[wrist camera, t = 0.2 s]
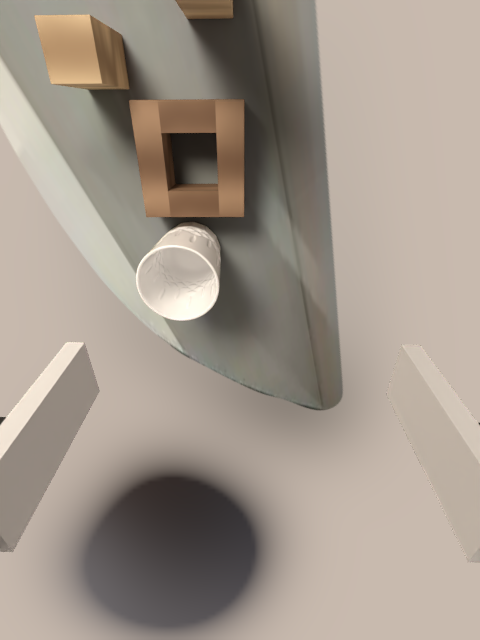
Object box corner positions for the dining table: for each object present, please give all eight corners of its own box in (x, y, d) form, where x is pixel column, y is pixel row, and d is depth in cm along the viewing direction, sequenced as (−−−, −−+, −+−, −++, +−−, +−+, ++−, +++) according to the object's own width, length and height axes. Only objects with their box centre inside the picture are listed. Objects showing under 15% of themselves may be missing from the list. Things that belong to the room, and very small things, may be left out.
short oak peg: (77, 35, 30) (34, 15, 24) (121, 34, 30) (89, 14, 24) (88, 89, 32) (51, 83, 26) (129, 89, 32) (102, 83, 26)
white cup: (200, 202, 37) (186, 228, 29) (237, 259, 41) (234, 298, 32) (146, 238, 39) (118, 272, 31) (186, 289, 43) (170, 332, 34)
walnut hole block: (141, 101, 32) (128, 100, 29) (244, 100, 32) (243, 99, 29) (155, 207, 37) (146, 216, 34) (244, 207, 37) (244, 217, 34)
